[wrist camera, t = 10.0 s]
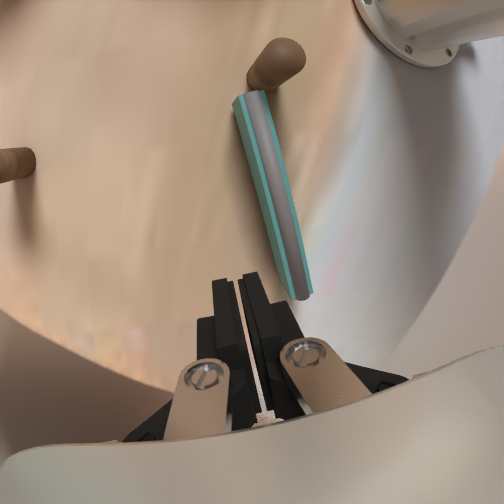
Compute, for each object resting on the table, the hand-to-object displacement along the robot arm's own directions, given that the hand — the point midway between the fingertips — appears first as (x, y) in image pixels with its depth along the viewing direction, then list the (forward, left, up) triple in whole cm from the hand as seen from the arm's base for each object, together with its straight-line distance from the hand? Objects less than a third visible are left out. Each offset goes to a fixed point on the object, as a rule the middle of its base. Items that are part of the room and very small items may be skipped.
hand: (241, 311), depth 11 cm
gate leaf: (-4, -2, -12) cm, 13 cm away
